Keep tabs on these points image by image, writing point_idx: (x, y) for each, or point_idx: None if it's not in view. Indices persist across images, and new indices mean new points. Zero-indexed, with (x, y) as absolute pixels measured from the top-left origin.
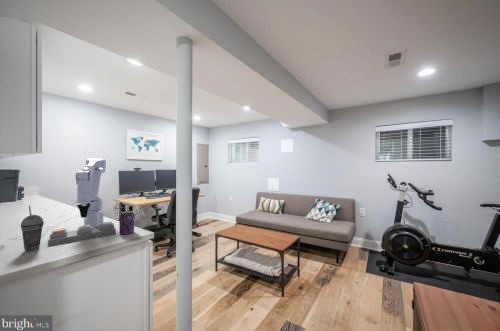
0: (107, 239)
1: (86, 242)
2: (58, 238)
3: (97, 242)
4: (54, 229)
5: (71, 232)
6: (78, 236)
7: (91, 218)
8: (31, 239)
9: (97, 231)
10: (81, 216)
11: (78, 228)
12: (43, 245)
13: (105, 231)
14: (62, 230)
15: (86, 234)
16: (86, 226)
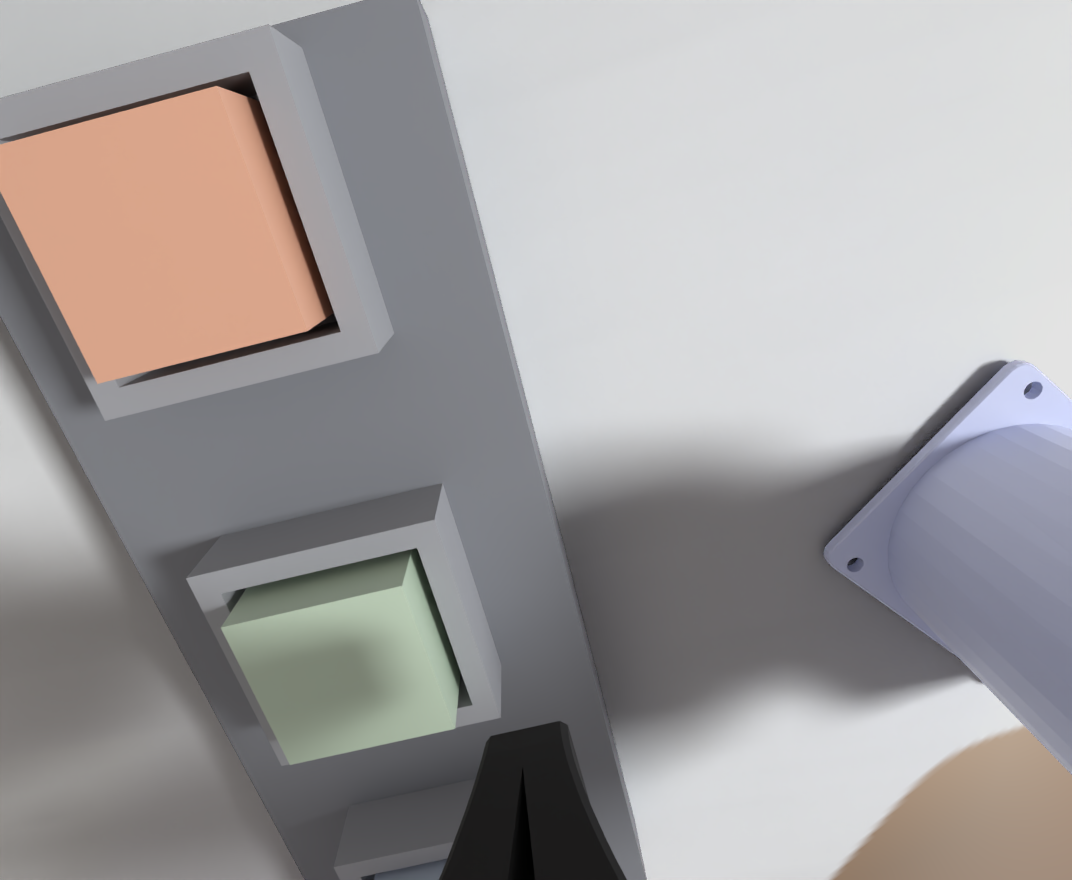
0: (118, 839)
1: (43, 651)
2: (3, 296)
3: (12, 766)
4: (219, 107)
5: (403, 403)
6: (151, 562)
7: (1011, 672)
8: None
9: (304, 774)
10: (479, 772)
11: (350, 560)
12: (25, 40)
13: (298, 850)
14: (82, 346)
15: (191, 662)
16: (296, 718)
